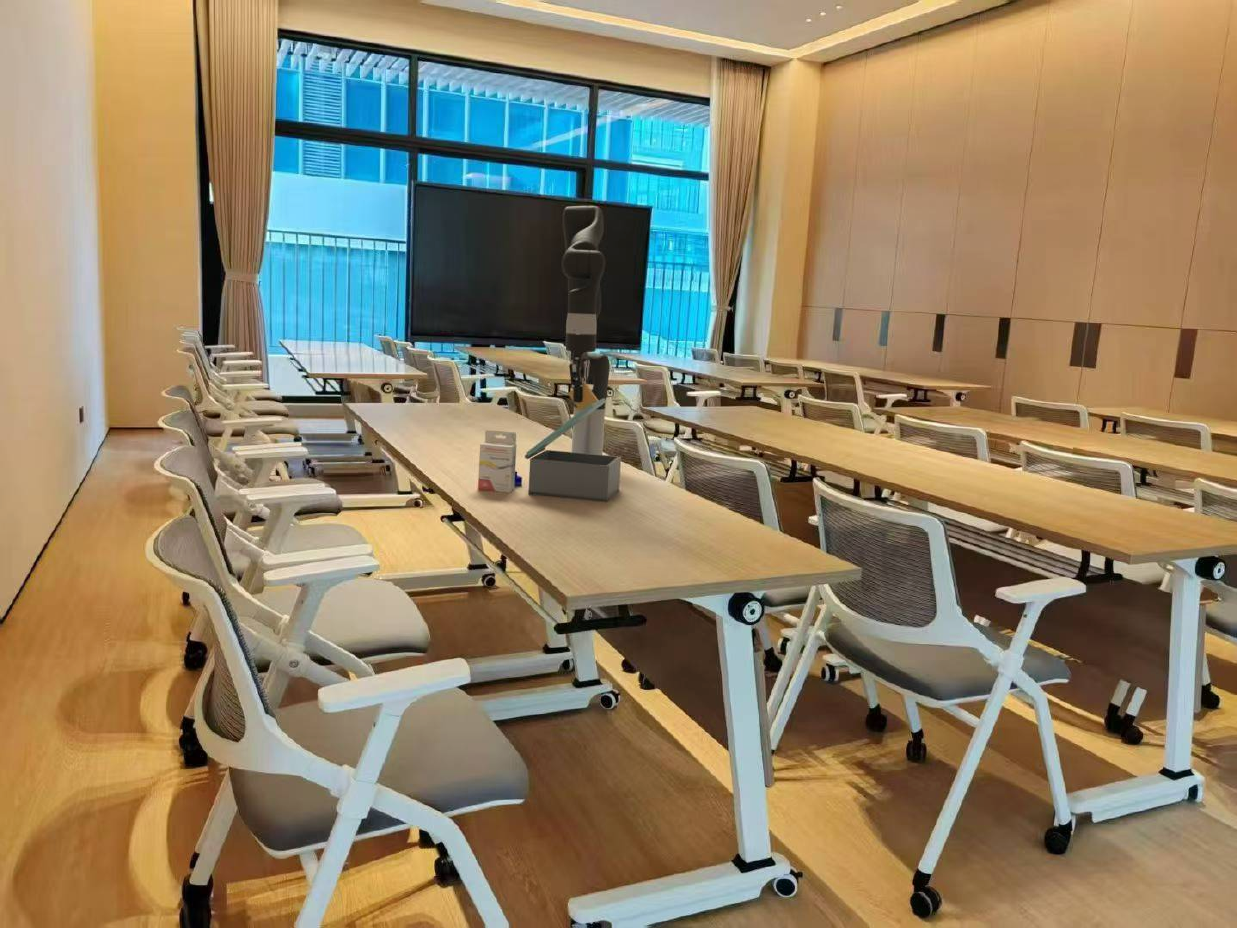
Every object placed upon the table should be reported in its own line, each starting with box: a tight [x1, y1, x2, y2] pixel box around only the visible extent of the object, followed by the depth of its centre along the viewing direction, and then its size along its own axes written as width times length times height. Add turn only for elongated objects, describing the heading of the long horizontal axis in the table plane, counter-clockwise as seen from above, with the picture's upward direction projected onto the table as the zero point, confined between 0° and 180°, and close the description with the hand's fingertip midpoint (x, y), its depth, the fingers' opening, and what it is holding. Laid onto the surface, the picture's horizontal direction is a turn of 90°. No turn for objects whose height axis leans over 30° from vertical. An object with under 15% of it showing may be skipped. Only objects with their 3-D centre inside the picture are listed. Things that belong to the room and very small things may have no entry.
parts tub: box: [528, 449, 622, 503], centre depth 239 cm, size 16×20×9 cm
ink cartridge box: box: [477, 429, 517, 493], centre depth 236 cm, size 9×5×15 cm, turn 84°
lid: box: [524, 381, 607, 460], centre depth 238 cm, size 17×22×8 cm
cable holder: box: [514, 470, 523, 487], centre depth 246 cm, size 8×4×4 cm, turn 37°
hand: (578, 401), depth 236 cm, fingers closed on lid
